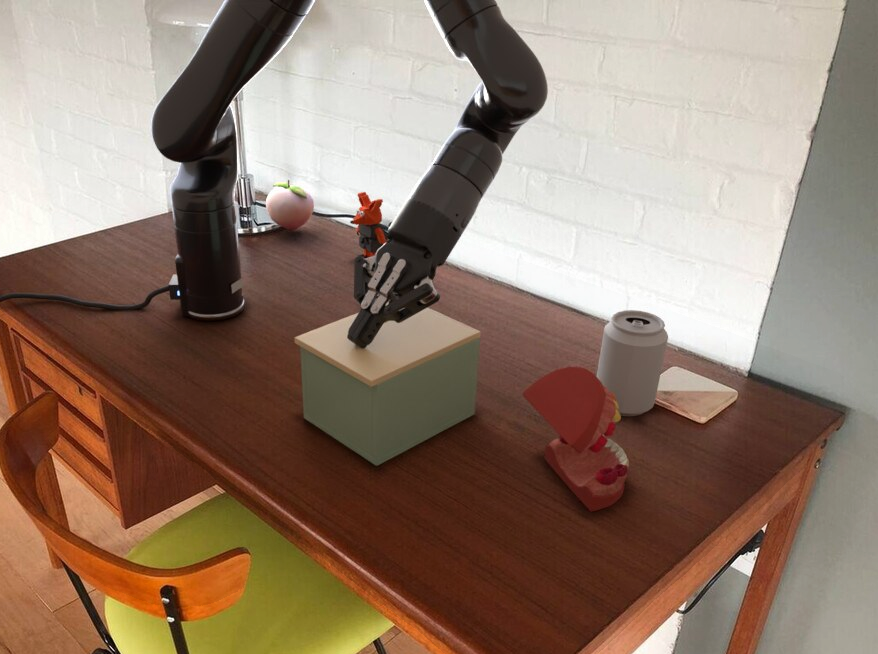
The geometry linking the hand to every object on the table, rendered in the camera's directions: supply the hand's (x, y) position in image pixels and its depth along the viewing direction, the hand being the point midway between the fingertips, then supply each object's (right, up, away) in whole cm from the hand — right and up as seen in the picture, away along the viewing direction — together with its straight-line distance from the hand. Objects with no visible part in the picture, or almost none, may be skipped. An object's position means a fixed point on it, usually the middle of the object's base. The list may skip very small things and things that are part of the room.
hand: (355, 343), depth 94 cm
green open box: (+4, -9, +9) cm, 13 cm away
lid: (+4, +1, +4) cm, 5 cm away
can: (+34, -7, +12) cm, 37 cm away
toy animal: (+1, +16, +53) cm, 55 cm away
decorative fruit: (-14, +25, +67) cm, 73 cm away
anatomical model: (+24, -16, -2) cm, 29 cm away
